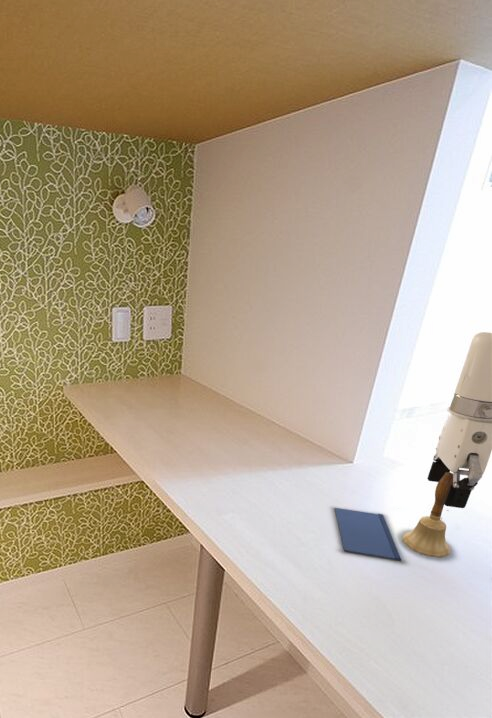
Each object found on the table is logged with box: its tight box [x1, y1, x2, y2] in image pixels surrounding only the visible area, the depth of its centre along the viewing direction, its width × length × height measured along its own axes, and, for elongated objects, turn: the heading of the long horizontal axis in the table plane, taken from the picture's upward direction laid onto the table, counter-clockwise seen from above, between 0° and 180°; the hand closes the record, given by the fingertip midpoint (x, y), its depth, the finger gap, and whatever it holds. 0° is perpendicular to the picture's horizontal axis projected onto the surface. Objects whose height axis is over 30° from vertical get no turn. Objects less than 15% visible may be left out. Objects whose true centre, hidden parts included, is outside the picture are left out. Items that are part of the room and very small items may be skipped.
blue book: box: [334, 507, 402, 562], centre depth 90 cm, size 10×16×1 cm, turn 164°
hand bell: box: [401, 471, 453, 558], centre depth 83 cm, size 8×8×16 cm
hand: (444, 493), depth 81 cm, fingers open, 9 cm apart
